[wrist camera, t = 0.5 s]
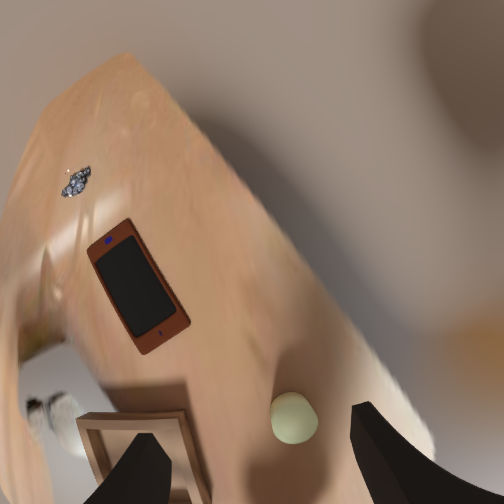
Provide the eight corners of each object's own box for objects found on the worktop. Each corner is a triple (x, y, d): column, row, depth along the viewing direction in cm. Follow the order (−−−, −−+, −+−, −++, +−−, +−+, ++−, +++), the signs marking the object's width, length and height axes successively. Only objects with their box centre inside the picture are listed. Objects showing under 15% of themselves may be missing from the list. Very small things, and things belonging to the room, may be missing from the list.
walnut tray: (211, 503, 27) (208, 518, 24) (120, 500, 27) (110, 512, 23) (184, 409, 30) (177, 418, 27) (89, 412, 30) (75, 418, 26)
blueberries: (52, 191, 37) (45, 187, 35) (84, 149, 38) (78, 143, 36) (74, 217, 36) (66, 213, 34) (109, 171, 37) (102, 165, 35)
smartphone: (127, 216, 35) (191, 324, 32) (130, 219, 36) (193, 324, 33) (84, 249, 34) (141, 356, 31) (87, 251, 35) (144, 356, 32)
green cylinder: (312, 422, 30) (320, 438, 25) (273, 430, 30) (276, 447, 25) (306, 388, 31) (314, 399, 26) (266, 396, 31) (268, 408, 26)
